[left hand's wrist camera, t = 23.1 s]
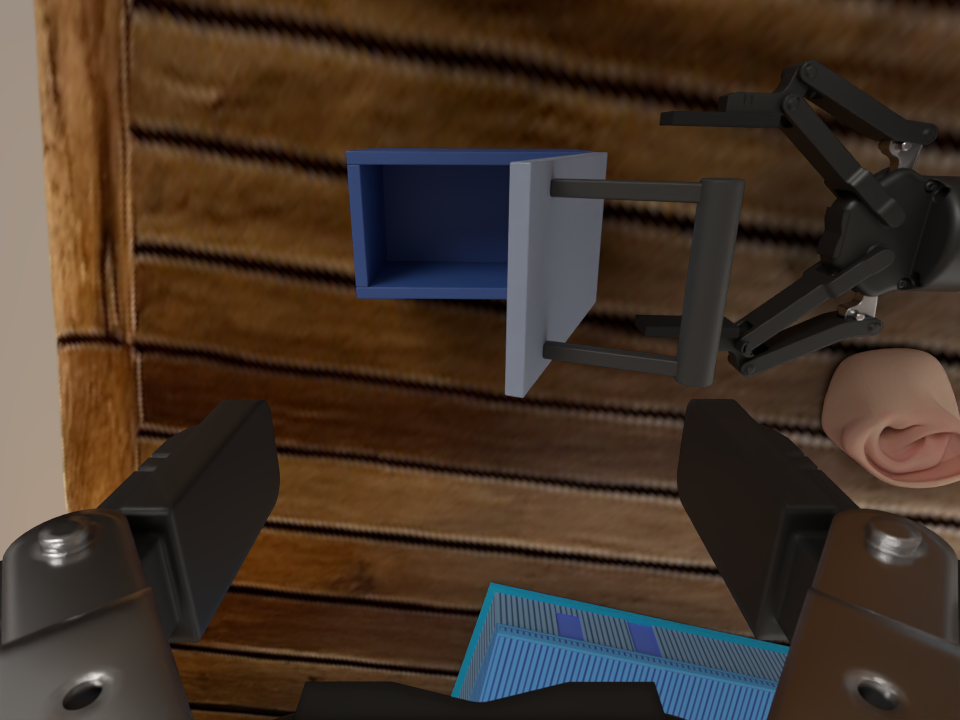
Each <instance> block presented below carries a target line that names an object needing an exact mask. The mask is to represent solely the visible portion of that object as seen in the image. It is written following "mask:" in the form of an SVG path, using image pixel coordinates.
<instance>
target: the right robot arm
mask: <svg viewBox="0 0 960 720" xmlns="http://www.w3.org/2000/svg"><path fill="white" fill-rule="evenodd" d="M803 97H805V98H806V99H808V100H809V101H811V102H812V103H814V104H815V105H817V106H819V107H820V108H822V109H823V110H825V111H826V112H828V113H829V114H831V115H832V116H834V117H836V118H837V119H839V120H840V121H842V122H843V123H845V124H846V125H848V126H849V127H851V128H853V129H854V130H856V131H857V132H859V133H860V134H862V135H864V136H865V137H867V138H870V139H872V140H875V141H880V143H879V144H878V148H879V149H880V150H881V152H882V153H883V154H884V155H886V156H888V157H889V159H890V166H889V167H888V168H885V169H883V170H881V171H880V172H878V173H876V174H875V175H873V174H872V173H871V172H869V171H868V170H866V169H864V168H863V167H861V166H860V164H859V163H858V162H857V161H856V160H855V159H854V157H853V156H852V155H851V154H850V153H849V152H848V150H847V149H846V148H845V147H844V146H843V144H842V143H841V142H840V141H839V140H838V139H837V137H836V136H835V135H834V134H833V133H832V131H831V130H830V129H829V128H828V127H827V126H826V124H825V123H824V122H823V121H822V120H821V118H820V117H819V116H818V115H817V114H816V113H815V111H814V110H813V109H812V108H811V107H810V105H809V104H808V103H807V102H806V101H805V100H804V98H803ZM660 125H671V126H712V127H752V128H764V127H779V128H780V129H781V130H782V131H783V132H784V134H785V135H786V136H787V137H788V138H789V139H790V140H791V142H792V143H793V144H794V145H795V146H796V147H797V148H798V150H799V151H800V152H801V153H802V154H803V155H804V156H805V158H806V159H807V160H808V161H809V162H810V163H811V164H812V166H813V167H814V168H815V169H816V170H817V171H818V172H819V174H820V175H821V176H822V177H823V178H824V183H825V185H826V186H827V187H828V188H829V189H830V190H831V191H832V193H833V194H834V195H835V196H836V197H837V199H836V200H835V202H834V203H833V204H832V206H831V207H827V210H826V214H825V231H824V233H823V235H822V237H821V239H820V241H819V245H818V249H817V253H819V254H820V257H821V261H819V262H818V263H816V264H815V265H813V266H812V267H810V268H809V269H807V270H806V271H805V272H804V273H803V276H802V278H800V279H799V280H797V281H796V282H794V283H793V284H792V285H790V286H789V287H787V288H786V289H784V290H783V291H781V292H780V293H778V294H777V295H775V296H774V297H773V298H771V299H770V300H768V301H767V302H765V303H764V304H762V305H761V306H759V307H758V308H757V309H755V310H754V311H752V312H751V313H749V314H748V315H746V316H745V317H743V318H742V319H741V320H739V321H738V322H736V323H735V324H734V323H732V322H731V321H730V320H728V319H727V318H726V317H723V323H722V329H721V336H720V342H719V348H718V351H728V352H729V355H728V361H729V363H730V364H731V365H732V366H733V367H735V368H736V369H737V370H738V371H739V372H740V373H741V374H742V375H744V376H745V377H752V376H754V375H757V374H759V373H762V372H764V371H767V370H769V369H772V368H774V367H777V366H779V365H782V364H784V363H787V362H789V361H792V360H794V359H796V358H799V357H801V356H804V355H806V354H809V353H811V352H814V351H816V350H819V349H821V348H824V347H826V346H829V345H831V344H834V343H836V342H839V341H841V340H844V339H846V338H850V337H862V336H873V335H876V334H878V333H879V332H880V331H881V330H882V327H883V323H882V322H881V321H880V320H879V319H877V318H875V312H876V306H877V299H878V296H880V295H882V294H884V293H887V292H889V291H894V290H904V291H950V292H952V291H960V177H955V176H922V175H920V174H918V173H917V172H915V171H914V170H913V169H914V166H915V164H916V161H917V159H918V156H919V153H920V151H921V148H922V146H923V145H928V144H930V143H932V142H933V141H934V140H935V139H936V138H937V136H938V128H937V127H936V125H933V124H929V123H922V122H916V121H910V120H905V119H904V118H902V117H901V116H899V115H898V114H896V113H895V112H893V111H892V110H890V109H889V108H887V107H886V106H884V105H883V104H881V103H880V102H878V101H877V100H875V99H874V98H872V97H871V96H869V95H868V94H866V93H865V92H863V91H862V90H860V89H859V88H857V87H856V86H854V85H853V84H851V83H850V82H848V81H847V80H845V79H844V78H842V77H841V76H839V75H838V74H836V73H834V72H833V71H831V70H830V69H828V68H827V67H825V66H824V65H822V64H821V63H819V62H818V61H815V60H809V61H805V62H801V63H796V64H792V65H789V66H787V67H786V68H785V69H784V70H783V71H782V74H781V82H780V84H779V86H778V87H777V89H776V90H775V91H774V92H772V93H746V92H736V93H730V94H726V95H724V96H721V97H720V98H719V104H718V110H717V112H696V111H670V112H663V113H661V117H660ZM833 274H834V276H831V275H833ZM850 289H851V290H852V291H854V292H856V295H855V297H854V299H853V300H852V301H850V302H848V303H845V304H840V305H839V306H838V307H837V311H833V312H828V313H824V314H821V315H819V316H816V317H814V318H811V319H809V320H806V321H804V322H802V323H799V324H797V325H794V326H792V327H790V328H787V329H785V330H783V329H784V328H786V327H787V326H789V325H790V324H792V323H793V322H795V321H796V320H798V319H799V318H801V317H802V316H804V315H805V314H807V313H808V312H810V311H811V310H813V309H814V308H816V307H817V306H819V305H820V304H822V303H823V302H825V301H826V300H828V299H830V298H835V297H839V296H841V295H842V294H844V293H845V292H847V291H848V290H850ZM681 320H682V316H664V315H636V319H635V326H636V327H637V328H638V329H639V330H640V332H641V333H642V334H643V335H644V336H646V337H679V335H680V328H681ZM781 330H782V331H781Z"/></svg>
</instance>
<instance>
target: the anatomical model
mask: <svg viewBox="0 0 960 720" xmlns="http://www.w3.org/2000/svg"><path fill="white" fill-rule="evenodd" d="M821 423H822V427H823V430H824V432H825V433H826V434H827V436H828V437H829V438H830V439H831V440H832V441H833V442H834V443H835V444H836V445H837V446H838V447H839V448H840V449H841V450H843V451H844V452H845V453H846V454H847V455H849V456H850V457H851V458H853V459H854V460H855V461H856V462H858V463H859V464H860V465H861V466H862V467H863V468H864V469H866V470H867V471H868V472H869V473H870V474H872V475H873V476H874V477H876V478H878V479H879V480H881V481H883V482H886V483H888V484H891V485H895V486H900V487H907V488H929V487H937V486H942V485H946V484H950V483H953V482H956V481H959V480H960V416H959V411H958V407H957V403H956V400H955V396H954V393H953V390H952V387H951V384H950V382H949V379H948V377H947V375H946V373H945V371H944V369H943V367H942V365H941V364H940V363H939V361H938V360H937V359H936V358H935V357H933V356H932V355H930V354H929V353H926V352H924V351H920V350H916V349H908V348H889V349H878V350H870V351H865V352H860V353H857V354H854V355H851V356H849V357H848V358H846V359H844V360H843V361H842V362H841V363H840V364H839V366H838V367H837V369H836V370H835V373H834V375H833V377H832V379H831V382H830V385H829V388H828V391H827V393H826V396H825V400H824V405H823V411H822V417H821Z"/></svg>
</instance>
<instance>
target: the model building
mask: <svg viewBox="0 0 960 720" xmlns="http://www.w3.org/2000/svg"><path fill="white" fill-rule="evenodd" d="M789 648H790V647H788V646H784V645H779V644H775V643H770V642H765V641H761V640H756V639H751V638H747V637H742V636H737V635H733V634H728V633H724V632H719V631H714V630H710V629H705V628H700V627H696V626H691V625H686V624H682V623H677V622H673V621H668V620H663V619H659V618H654V617H649V616H645V615H640V614H635V613H631V612H626V611H622V610H617V609H612V608H608V607H603V606H598V605H594V604H589V603H584V602H580V601H575V600H571V599H566V598H561V597H557V596H552V595H547V594H543V593H538V592H534V591H529V590H524V589H520V588H515V587H510V586H506V585H501V584H496V583H492V582H491V583H490V586H489V589H488V592H487V594H486V597H485V600H484V603H483V606H482V609H481V612H480V615H479V617H478V620H477V623H476V626H475V629H474V632H473V635H472V638H471V640H470V643H469V646H468V649H467V652H466V655H465V658H464V661H463V663H462V666H461V669H460V672H459V675H458V678H457V681H456V683H455V686H454V689H453V692H452V695H451V696H452V697H456V698H460V699H464V700H468V701H474V702H486V701H492V700H496V699H500V698H504V697H508V696H512V695H516V694H520V693H524V692H528V691H532V690H537V689H541V688H545V687H549V686H553V685H557V684H561V683H565V682H655V685H656V688H657V691H658V694H659V698H660V701H661V704H662V707H663V710H664V713H667V714H671V715H675V716H678V717H681V718H684V719H686V720H767V716H768V713H769V710H770V707H771V704H772V701H773V698H774V695H775V691H776V688H777V685H778V682H779V679H780V676H781V673H782V670H783V666H784V663H785V660H786V657H787V654H788V651H789Z"/></svg>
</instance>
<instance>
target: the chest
mask: <svg viewBox="0 0 960 720" xmlns="http://www.w3.org/2000/svg"><path fill="white" fill-rule="evenodd" d="M584 153H593V151H586V150H578V149H444V148H370V149H361V150H352V151H346V156H347V164H348V165H347V169H348V183H349V196H350V210H351V223H352V237H353V250H354V264H355V278H356V287H357V288H356V291H357V298H361V299H507V281H508V234H509V188H510V162H515V161H524V160H533V159H541V158H550V157H558V156H567V155H576V154H584Z"/></svg>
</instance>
